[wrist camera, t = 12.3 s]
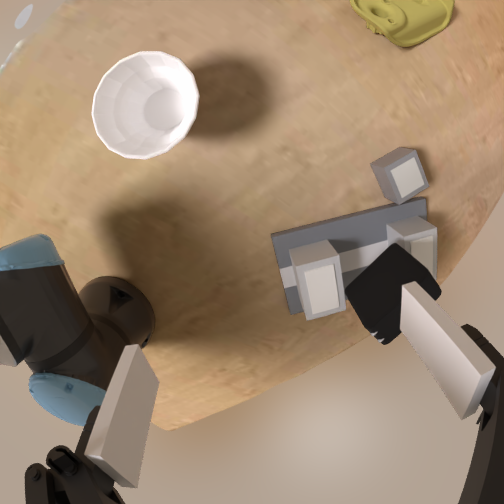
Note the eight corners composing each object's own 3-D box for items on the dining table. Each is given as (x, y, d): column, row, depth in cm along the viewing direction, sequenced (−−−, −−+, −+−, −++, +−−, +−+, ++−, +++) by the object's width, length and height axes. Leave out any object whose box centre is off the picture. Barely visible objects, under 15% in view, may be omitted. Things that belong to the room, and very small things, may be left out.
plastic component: (413, -32, 26) (461, 2, 25) (406, -6, 33) (448, 27, 32) (335, -4, 29) (390, 36, 27) (333, 27, 36) (381, 66, 35)
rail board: (289, 309, 51) (296, 337, 44) (270, 234, 46) (276, 254, 38) (423, 270, 49) (445, 289, 42) (420, 196, 44) (447, 208, 37)
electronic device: (407, 259, 40) (444, 292, 31) (358, 305, 42) (384, 348, 33) (393, 240, 39) (431, 271, 29) (342, 289, 41) (366, 331, 32)
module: (384, 197, 44) (399, 205, 39) (369, 163, 42) (384, 168, 37) (412, 180, 43) (429, 186, 38) (399, 146, 41) (416, 149, 36)
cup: (186, 54, 35) (169, 30, 25) (224, 126, 39) (219, 124, 29) (112, 97, 36) (76, 90, 26) (147, 168, 41) (120, 180, 31)
